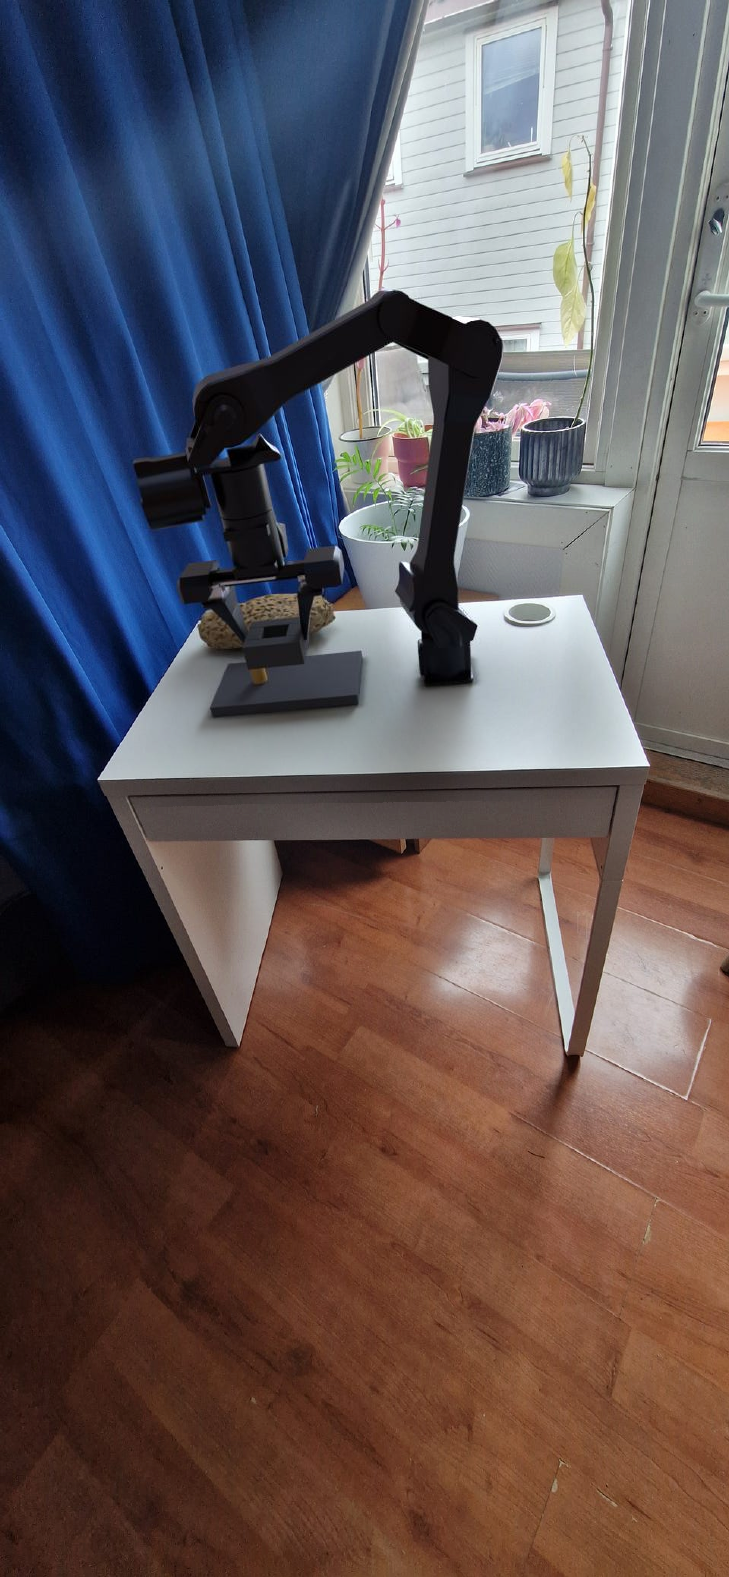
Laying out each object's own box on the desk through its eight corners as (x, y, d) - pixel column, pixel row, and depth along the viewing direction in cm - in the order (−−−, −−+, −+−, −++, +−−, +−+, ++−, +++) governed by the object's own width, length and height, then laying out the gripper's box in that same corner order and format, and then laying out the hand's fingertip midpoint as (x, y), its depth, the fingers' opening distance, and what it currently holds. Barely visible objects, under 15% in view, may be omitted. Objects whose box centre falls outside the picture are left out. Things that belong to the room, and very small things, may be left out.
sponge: (204, 666, 103) (313, 646, 94) (185, 617, 99) (296, 592, 91) (245, 640, 113) (347, 620, 104) (230, 596, 110) (333, 571, 101)
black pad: (309, 637, 84) (305, 615, 82) (304, 664, 78) (299, 641, 76) (256, 643, 84) (251, 621, 82) (247, 670, 79) (241, 647, 77)
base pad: (362, 659, 95) (359, 634, 92) (358, 704, 86) (354, 678, 83) (230, 672, 97) (223, 648, 95) (212, 717, 88) (204, 692, 86)
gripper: (336, 479, 76) (354, 605, 86) (181, 499, 78) (217, 621, 87) (329, 509, 67) (351, 646, 77) (156, 531, 69) (198, 661, 79)
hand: (277, 641), depth 80 cm, fingers closed on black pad, 7 cm apart
